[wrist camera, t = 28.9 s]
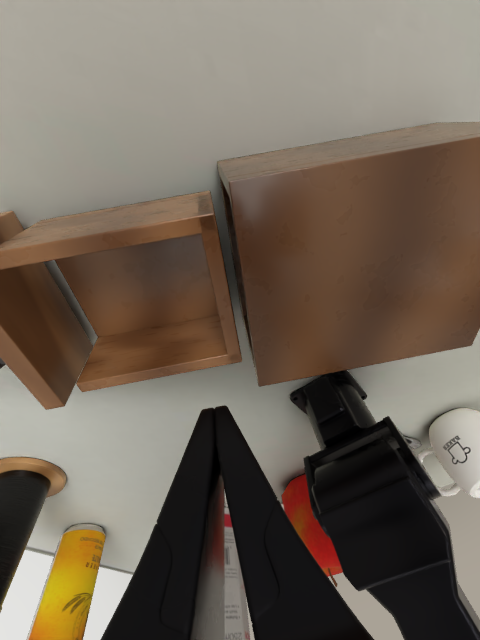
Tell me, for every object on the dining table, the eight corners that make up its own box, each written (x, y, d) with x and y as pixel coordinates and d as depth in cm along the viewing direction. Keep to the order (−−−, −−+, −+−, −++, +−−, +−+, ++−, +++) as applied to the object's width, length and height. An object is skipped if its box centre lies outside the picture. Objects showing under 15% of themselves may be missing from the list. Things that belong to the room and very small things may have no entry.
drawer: (28, 358, 22) (-18, 422, 17) (-77, 226, 16) (-193, 268, 11) (234, 319, 22) (244, 372, 17) (207, 176, 16) (211, 196, 11)
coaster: (81, 473, 33) (79, 478, 33) (40, 500, 35) (38, 506, 35) (8, 447, 29) (5, 453, 28) (-34, 480, 31) (-37, 486, 31)
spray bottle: (180, 514, 43) (165, 869, 22) (226, 501, 42) (253, 853, 22) (200, 531, 47) (203, 838, 27) (242, 519, 47) (277, 824, 26)
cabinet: (242, 318, 23) (258, 387, 17) (216, 160, 17) (228, 180, 10) (399, 288, 24) (472, 345, 17) (437, 122, 17) (575, 119, 11)
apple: (296, 461, 38) (330, 575, 28) (342, 469, 41) (387, 574, 31) (264, 491, 42) (284, 600, 32) (308, 496, 45) (339, 598, 35)
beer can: (107, 537, 44) (72, 695, 32) (64, 540, 43) (11, 706, 30) (106, 521, 41) (68, 689, 29) (60, 523, 39) (-1, 701, 27)
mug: (456, 392, 33) (521, 453, 27) (493, 407, 37) (559, 466, 30) (386, 450, 38) (427, 513, 32) (424, 459, 42) (468, 518, 35)
